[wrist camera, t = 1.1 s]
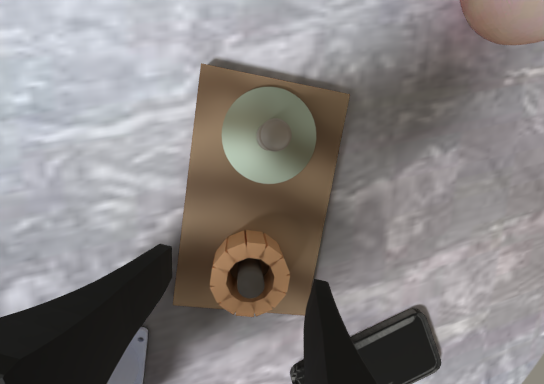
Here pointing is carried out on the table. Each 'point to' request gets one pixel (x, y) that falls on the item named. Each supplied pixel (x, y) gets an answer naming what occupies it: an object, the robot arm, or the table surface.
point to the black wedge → (393, 350)
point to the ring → (226, 285)
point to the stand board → (257, 180)
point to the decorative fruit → (506, 20)
